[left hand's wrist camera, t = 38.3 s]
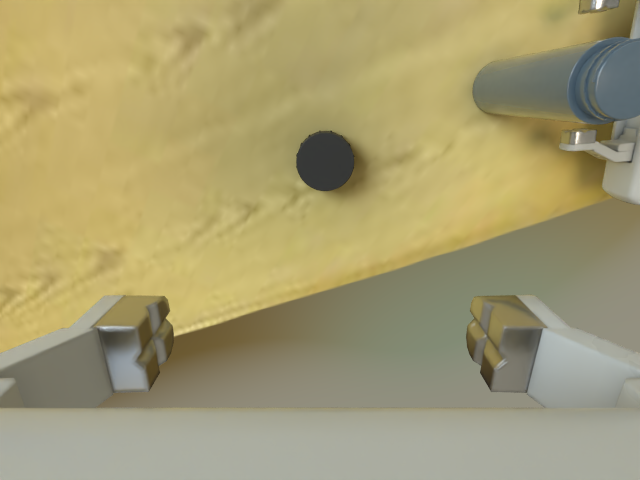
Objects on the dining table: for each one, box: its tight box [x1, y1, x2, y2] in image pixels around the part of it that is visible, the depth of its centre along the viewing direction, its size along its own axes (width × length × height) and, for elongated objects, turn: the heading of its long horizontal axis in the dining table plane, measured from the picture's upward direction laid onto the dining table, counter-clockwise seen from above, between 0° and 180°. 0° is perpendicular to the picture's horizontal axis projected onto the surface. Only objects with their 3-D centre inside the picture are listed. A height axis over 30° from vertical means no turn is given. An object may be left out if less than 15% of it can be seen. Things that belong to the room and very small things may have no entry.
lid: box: [296, 131, 354, 191], centre depth 34 cm, size 5×5×2 cm
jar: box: [473, 37, 640, 125], centre depth 26 cm, size 4×4×15 cm
